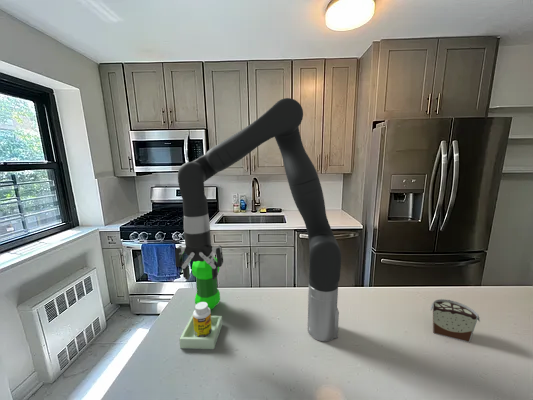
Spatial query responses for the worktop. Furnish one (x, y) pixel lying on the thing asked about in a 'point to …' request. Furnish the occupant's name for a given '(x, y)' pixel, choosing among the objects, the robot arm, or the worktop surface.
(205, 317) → the supplement bottle
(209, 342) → the tray
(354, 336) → the worktop surface
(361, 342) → the worktop surface
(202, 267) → the plastic bottle
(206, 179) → the robot arm
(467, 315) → the mint chocolate cake slice
